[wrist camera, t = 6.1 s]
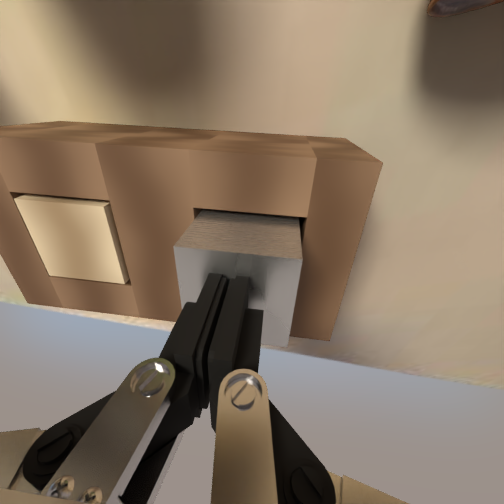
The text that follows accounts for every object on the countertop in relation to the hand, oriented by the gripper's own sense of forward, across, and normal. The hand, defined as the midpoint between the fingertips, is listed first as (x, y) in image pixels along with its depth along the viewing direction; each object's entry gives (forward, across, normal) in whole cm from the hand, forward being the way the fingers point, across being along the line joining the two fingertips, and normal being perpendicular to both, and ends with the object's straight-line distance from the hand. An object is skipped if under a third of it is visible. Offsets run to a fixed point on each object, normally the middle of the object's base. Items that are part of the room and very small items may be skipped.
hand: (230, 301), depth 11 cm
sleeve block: (+11, +5, 0) cm, 12 cm away
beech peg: (+11, +10, 0) cm, 15 cm away
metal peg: (+8, 0, 0) cm, 8 cm away
